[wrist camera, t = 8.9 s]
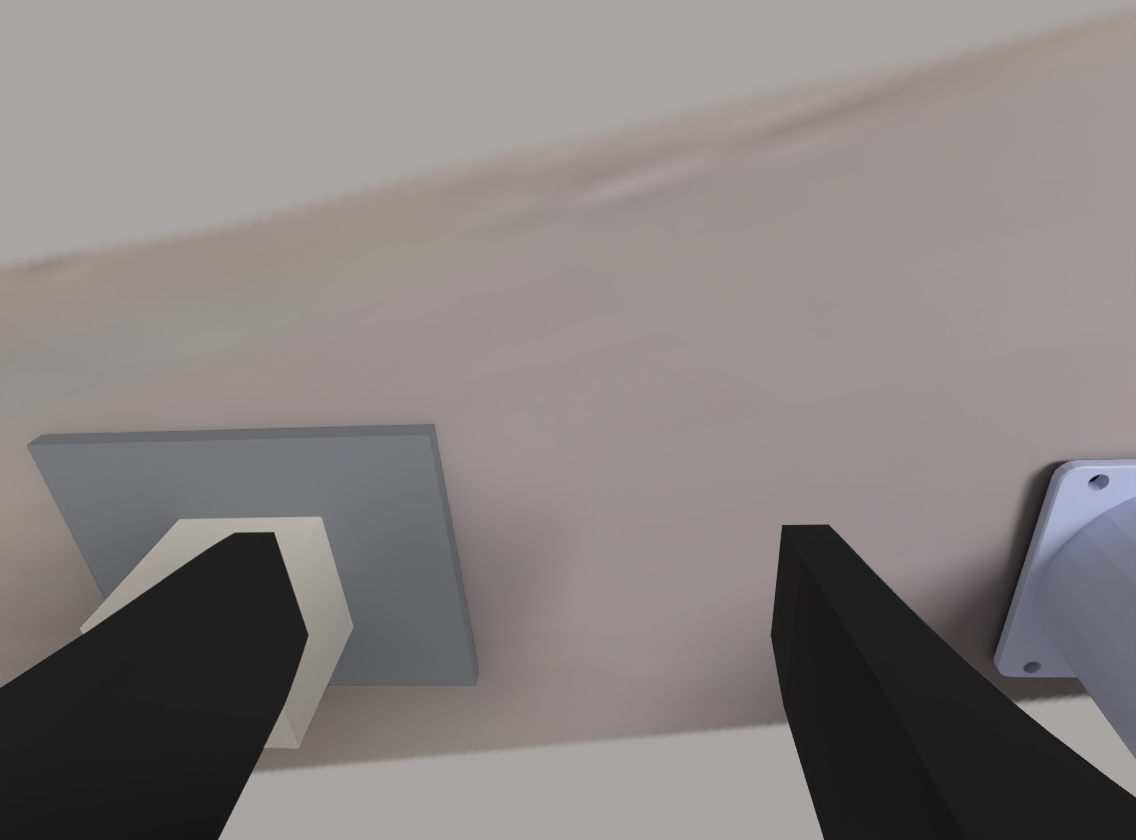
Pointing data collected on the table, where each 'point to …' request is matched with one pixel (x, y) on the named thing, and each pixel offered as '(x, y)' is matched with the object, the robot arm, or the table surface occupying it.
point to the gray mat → (290, 489)
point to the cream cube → (310, 583)
